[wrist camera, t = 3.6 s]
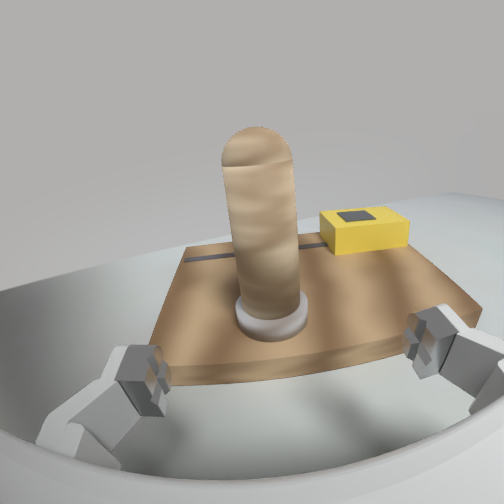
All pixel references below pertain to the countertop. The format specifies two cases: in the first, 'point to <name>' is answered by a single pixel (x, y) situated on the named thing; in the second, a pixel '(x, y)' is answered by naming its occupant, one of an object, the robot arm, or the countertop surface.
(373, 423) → the countertop surface
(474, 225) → the countertop surface
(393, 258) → the plywood board
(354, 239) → the block
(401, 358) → the countertop surface
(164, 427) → the countertop surface
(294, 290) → the wooden dome-topped peg
